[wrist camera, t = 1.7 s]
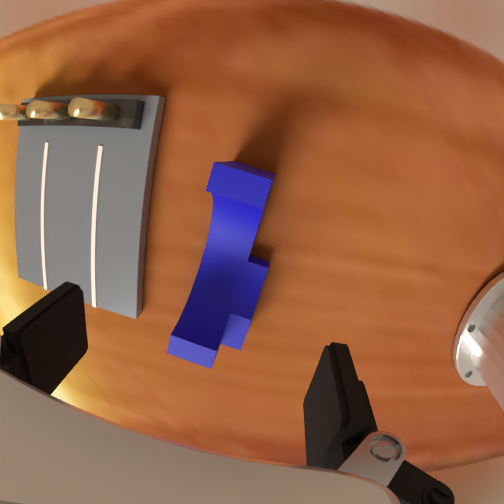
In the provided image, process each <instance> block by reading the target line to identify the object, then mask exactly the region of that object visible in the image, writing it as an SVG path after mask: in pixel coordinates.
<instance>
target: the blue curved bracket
mask: <svg viewBox="0 0 504 504" xmlns="http://www.w3.org/2000/svg"><path fill="white" fill-rule="evenodd" d="M275 176H276V174H273V173H270V172H267V171H264V170H261V169H258V168H254V167H251V166H248V165H245V164H241V163H238V162H235V161H227V162H214V164H213V168H212V171H211V175H210V178H209V182H208V185H207V189H206V191H208V192H211V193H212V195H213V213H212V220H211V225H210V230H209V235H208V239H207V243H206V247H205V250H204V254H203V257H202V261H201V264H200V267H199V270H198V273H197V276H196V279H195V282H194V285H193V287H192V290H191V293H190V295H189V298H188V300H187V303H186V305H185V308H184V310H183V312H182V314H181V316H180V319H179V321H178V323H177V325H176V326H175V328H174V330H173V332H172V333H171V336H170V341H169V345H168V350H167V353H169V354H171V355H174V356H177V357H179V358H182V359H185V360H188V361H190V362H193V363H196V364H199V365H202V366H205V367H208V368H210V369H211V368H212V366H213V363H214V360H215V357H216V354H217V352H218V349H219V346H220V344H223V345H226V346H229V347H232V348H235V349H239V350H241V348H242V345H243V342H244V339H245V337H246V334H247V331H248V328H249V326H250V323H251V320H252V317H253V314H254V311H255V308H256V304H257V301H258V298H259V295H260V292H261V289H262V286H263V283H264V280H265V277H266V275H267V272H268V269H269V263H270V262H268V261H265V260H262V259H259V258H256V257H253V256H250V253H251V250H252V247H253V244H254V241H255V237H256V234H257V231H258V228H259V225H260V222H261V219H262V216H263V213H264V210H265V207H266V204H267V200H268V197H269V194H270V191H271V188H272V185H273V182H274V179H275Z"/></svg>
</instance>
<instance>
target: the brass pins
mask: <svg viewBox="0 0 504 504" xmlns="http://www.w3.org/2000/svg"><path fill="white" fill-rule="evenodd" d="M144 106H145V102H144V101H141V100H138V99H85V98H80V97H75V98H74V99H68V100H50V101H39V100H32V101H30V102H25V103H21V105H12V104H0V120H18V126H89V127H109V128H125V129H138V130H140V128H141V122H142V116H143V111H144Z"/></svg>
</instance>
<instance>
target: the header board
mask: <svg viewBox="0 0 504 504" xmlns="http://www.w3.org/2000/svg"><path fill="white" fill-rule="evenodd" d="M75 97H80V98H85V99H138V100H141V101H144V102H145V106H144V111H143V116H142V122H141V128H140V130H138V129H125V128H109V127H89V126H20V131H19V140H18V150H17V162H16V178H15V235H16V252H17V264H18V274H19V278H22V279H24V280H27V281H29V282H32V283H34V284H37V285H39V286H42V287H44V289H45V290H48V289H49V290H52V291H53V290H54V289H56V288H57V287H58V286H60V285H61V284H63V283H64V282H66V281H67V282H71V283H74V284H77V285H79V286H80V288H81V290H83V294H84V302H85V303H88V304H91V305H92V307H95V308H96V307H100V308H103V309H106V310H109V311H112V312H115V313H119V314H122V315H125V316H128V317H132V318H135V319H137V318H138V316H139V315H140V314H141V313H142V301H143V278H144V261H145V247H146V235H147V224H148V214H149V204H150V196H151V187H152V179H153V172H154V165H155V158H156V151H157V145H158V139H159V133H160V127H161V121H162V116H163V111H164V105H165V100H166V98H163V97H161V96H154V95H126V94H94V95H67V96H51V97H39V98H29V99H24V103H25V102H30V101H32V100H39V101H50V100H68V99H74V98H75Z"/></svg>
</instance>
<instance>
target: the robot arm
mask: <svg viewBox="0 0 504 504" xmlns="http://www.w3.org/2000/svg"><path fill="white" fill-rule="evenodd" d="M3 332H4V334H3V335H2V336H1V335H0V504H454V495H453V492H452V491H451V490H450V488H449V487H447V486H446V485H445V484H443V483H442V482H440V481H438V480H436V479H435V478H433V477H431V476H430V475H428V474H427V473H425V472H423V471H422V470H420V469H418V468H417V467H415V466H414V465H412V464H410V463H409V462H407V461H406V460H404V459H405V456H406V447H405V445H404V443H403V442H402V441H401V439H400V438H398V437H397V436H396V435H394V434H392V433H389V432H385V431H378V429H377V425H376V422H375V418H374V415H373V412H372V408H371V405H370V402H369V398H368V395H367V392H366V389H365V385H364V383H363V382H362V381H359V380H358V377H357V374H356V371H355V367H354V364H353V361H352V358H351V355H350V351H349V348H348V346H347V344H341V343H334V342H332V343H331V344H330V346H328V345H326V346H325V347H324V350H323V352H322V355H321V358H320V360H319V363H318V366H317V368H316V371H315V373H314V376H313V379H312V381H311V384H310V386H309V389H308V391H307V394H306V396H305V399H304V404H303V409H304V424H305V442H306V461H307V466H304V465H297V464H288V463H280V462H273V461H266V460H259V459H253V458H247V457H241V456H236V455H230V454H225V453H220V452H215V451H211V450H206V449H202V448H198V447H194V446H190V445H186V444H182V443H178V442H174V441H171V440H167V439H164V438H160V437H157V436H153V435H150V434H147V433H144V432H141V431H138V430H135V429H132V428H129V427H126V426H123V425H120V424H118V423H115V422H112V421H109V420H107V419H104V418H102V417H99V416H97V415H94V414H92V413H89V412H87V411H84V410H82V409H80V408H77V407H75V406H73V405H71V404H68V403H66V402H64V401H62V400H60V399H57V398H55V397H53V396H51V394H52V392H53V391H54V390H55V389H56V388H57V386H58V385H59V384H60V383H61V382H62V380H63V379H64V378H65V377H66V376H67V374H68V373H69V372H70V371H71V370H72V368H73V367H74V366H75V365H76V364H77V363H78V361H79V360H80V359H81V358H82V357H83V356H84V354H85V353H86V351H87V349H88V341H87V332H86V321H85V309H84V294H83V290H81V288H80V286H79V285H77V284H74V283H71V282H67V281H66V282H64V283H63V284H61V285H60V286H58V287H57V288H56V289H54V290H53V291H51V292H50V293H49V294H47V295H46V296H44V297H43V298H42V299H40V300H39V301H38V302H36V303H35V304H33V305H32V306H31V307H29V308H28V309H27V310H25V311H24V312H23V313H21V314H20V315H19V316H17V317H16V318H15V319H13V320H12V321H11V322H10V323H8V324H7V325H6V326H4V327H3ZM453 360H454V364H455V367H456V369H457V371H458V373H459V375H460V376H461V378H462V379H463V380H464V381H465V382H467V383H468V384H471V385H474V386H486V385H487V387H488V388H489V389H490V391H491V392H492V394H493V395H494V397H495V399H496V400H497V402H498V403H499V405H500V406H501V408H502V409H503V411H504V272H502V273H501V274H499V275H498V276H497V277H495V278H494V279H493V280H491V281H490V282H489V283H488V284H487V285H486V286H485V287H484V288H483V289H482V290H481V291H480V293H479V294H478V295H477V297H476V298H475V299H474V300H473V302H472V303H471V305H470V307H469V308H468V310H467V311H466V313H465V315H464V317H463V319H462V321H461V323H460V325H459V328H458V331H457V334H456V337H455V342H454V347H453Z"/></svg>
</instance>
